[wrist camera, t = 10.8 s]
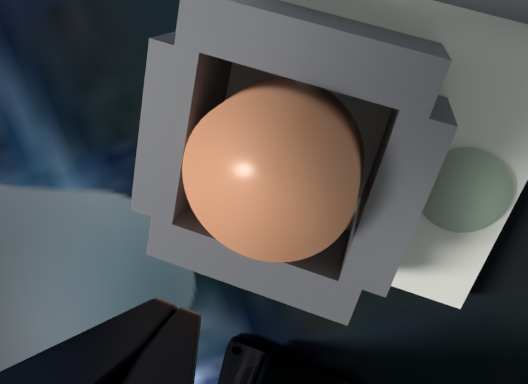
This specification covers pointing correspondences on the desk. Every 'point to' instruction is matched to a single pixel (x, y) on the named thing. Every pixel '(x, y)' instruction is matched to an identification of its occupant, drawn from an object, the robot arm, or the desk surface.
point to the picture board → (372, 132)
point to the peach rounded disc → (275, 170)
